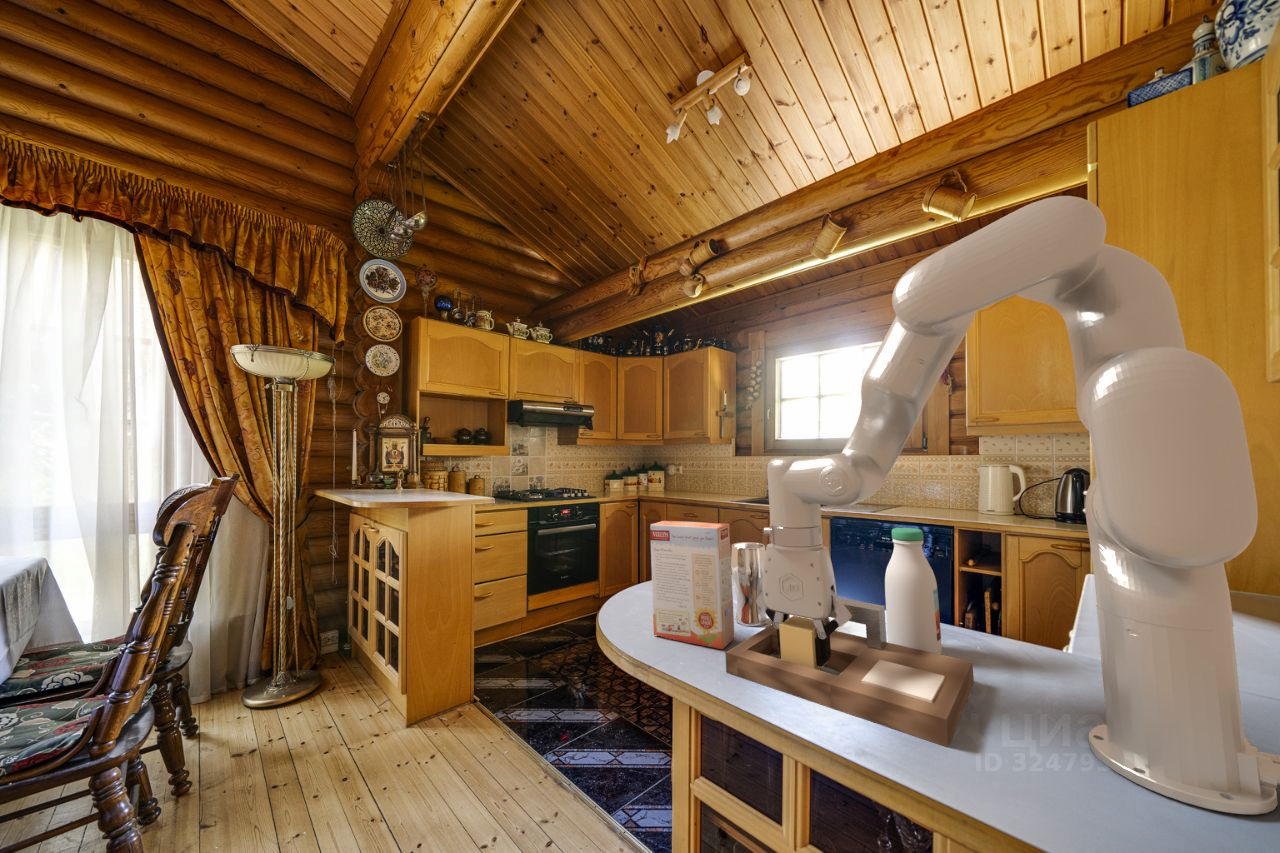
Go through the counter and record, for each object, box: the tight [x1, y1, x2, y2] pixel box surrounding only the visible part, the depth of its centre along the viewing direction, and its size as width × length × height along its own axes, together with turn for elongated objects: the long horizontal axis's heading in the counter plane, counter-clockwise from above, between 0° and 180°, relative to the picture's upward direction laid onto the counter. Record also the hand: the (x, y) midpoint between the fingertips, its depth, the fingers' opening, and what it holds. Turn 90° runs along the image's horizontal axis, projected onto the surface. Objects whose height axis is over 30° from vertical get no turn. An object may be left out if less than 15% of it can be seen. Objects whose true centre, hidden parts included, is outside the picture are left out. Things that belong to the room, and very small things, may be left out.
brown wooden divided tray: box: [725, 623, 975, 748], centre depth 70 cm, size 29×19×3 cm, turn 48°
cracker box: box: [650, 520, 735, 650], centre depth 87 cm, size 14×6×21 cm, turn 58°
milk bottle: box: [884, 527, 942, 655], centre depth 79 cm, size 8×8×20 cm
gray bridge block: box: [771, 597, 888, 650], centre depth 79 cm, size 18×3×6 cm, turn 48°
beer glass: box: [731, 541, 768, 627], centre depth 94 cm, size 7×7×15 cm
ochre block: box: [779, 615, 827, 671], centre depth 71 cm, size 5×5×6 cm
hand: (804, 657), depth 71 cm, fingers closed on ochre block, 4 cm apart
